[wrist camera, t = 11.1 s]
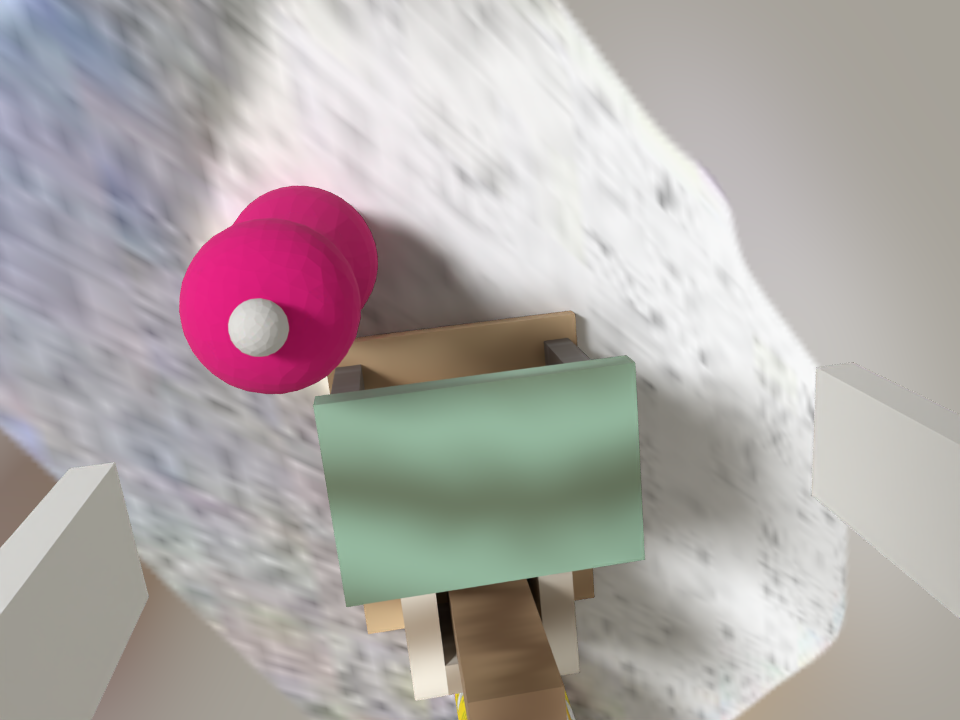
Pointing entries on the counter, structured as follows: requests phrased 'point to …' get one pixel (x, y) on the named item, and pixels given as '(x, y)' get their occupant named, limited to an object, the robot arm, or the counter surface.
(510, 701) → the walnut peg
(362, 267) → the pepper mill
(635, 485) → the awning station
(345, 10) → the counter surface
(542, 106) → the counter surface
